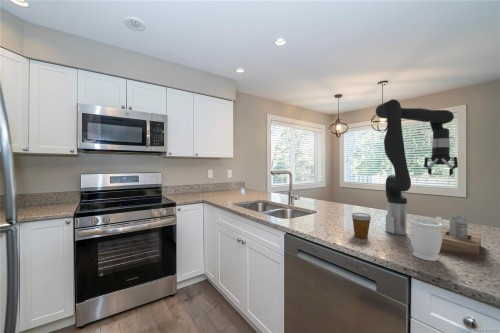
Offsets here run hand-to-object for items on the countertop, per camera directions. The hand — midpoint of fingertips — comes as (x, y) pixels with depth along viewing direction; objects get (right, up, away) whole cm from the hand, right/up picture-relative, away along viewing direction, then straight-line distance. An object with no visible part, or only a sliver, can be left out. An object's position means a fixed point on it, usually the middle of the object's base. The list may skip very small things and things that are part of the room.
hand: (440, 175), depth 122 cm
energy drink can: (-11, -34, -21) cm, 41 cm away
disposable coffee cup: (-49, -33, -6) cm, 59 cm away
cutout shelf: (-11, -33, -21) cm, 41 cm away
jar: (-34, -34, -31) cm, 58 cm away
